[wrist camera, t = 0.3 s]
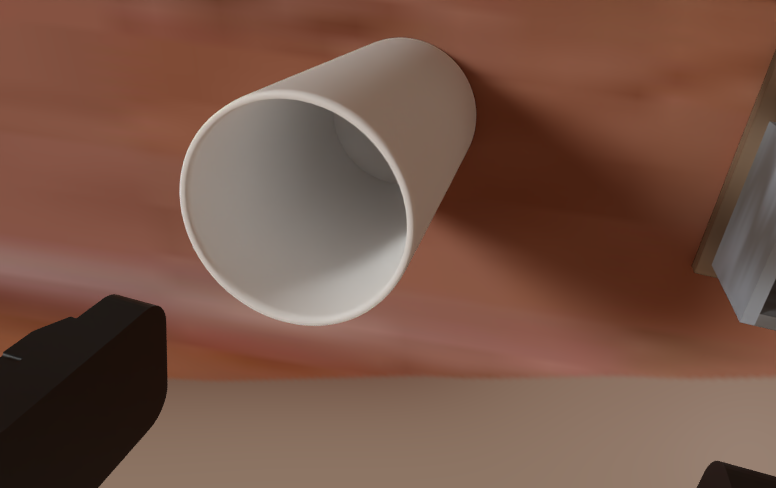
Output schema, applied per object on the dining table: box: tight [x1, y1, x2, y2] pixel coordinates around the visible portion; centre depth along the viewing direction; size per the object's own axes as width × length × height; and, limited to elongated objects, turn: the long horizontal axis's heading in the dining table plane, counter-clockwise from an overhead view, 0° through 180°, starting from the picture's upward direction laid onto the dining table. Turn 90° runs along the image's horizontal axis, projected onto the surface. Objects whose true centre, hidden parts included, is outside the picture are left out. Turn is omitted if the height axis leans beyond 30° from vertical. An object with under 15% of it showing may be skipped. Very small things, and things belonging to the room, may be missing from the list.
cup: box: [180, 38, 476, 326], centre depth 28 cm, size 8×8×16 cm
